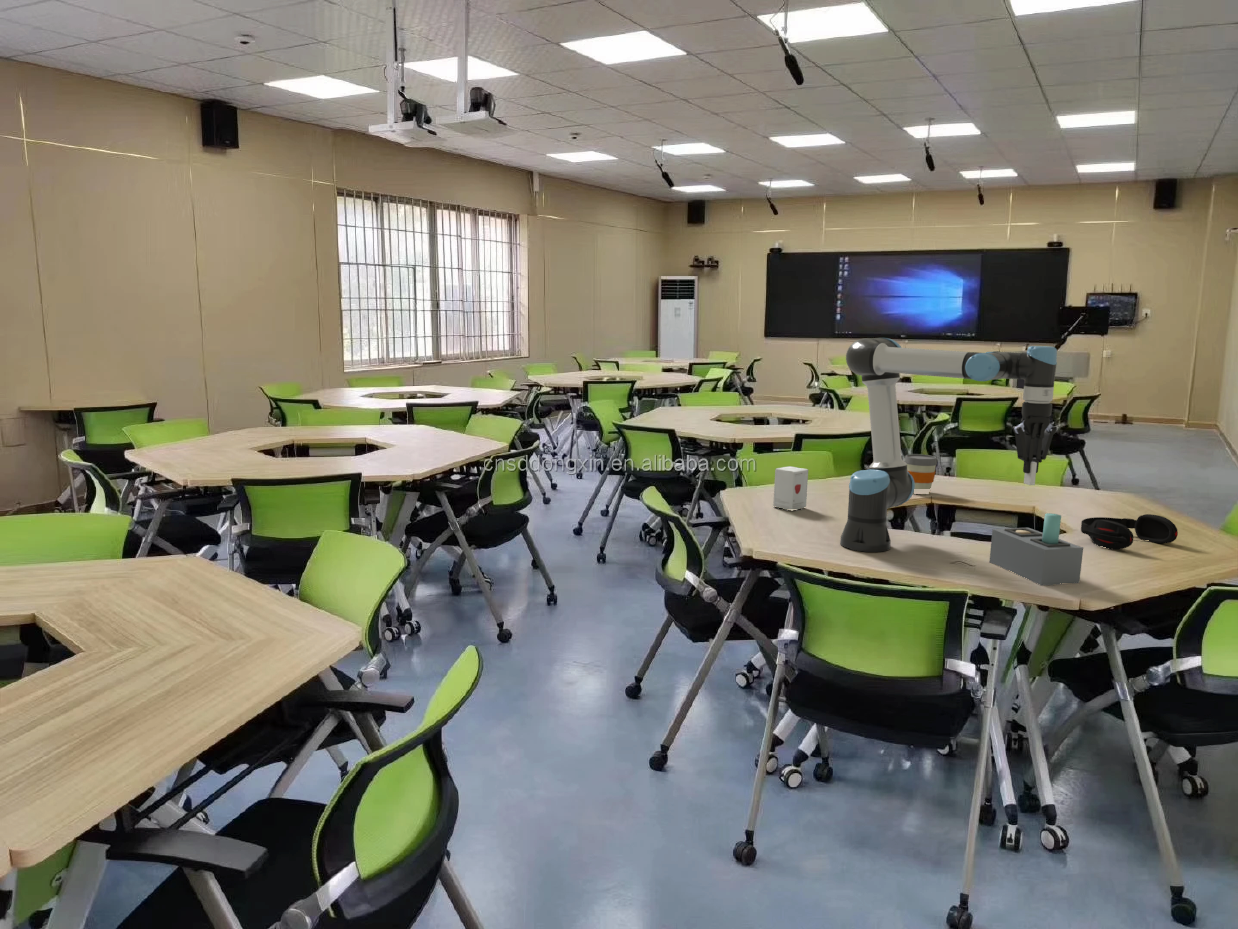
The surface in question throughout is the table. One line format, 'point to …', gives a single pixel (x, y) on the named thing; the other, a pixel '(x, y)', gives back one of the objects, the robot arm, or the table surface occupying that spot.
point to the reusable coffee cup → (921, 469)
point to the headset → (1128, 530)
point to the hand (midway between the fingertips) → (1029, 484)
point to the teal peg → (1051, 528)
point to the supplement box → (790, 487)
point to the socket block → (1036, 556)
